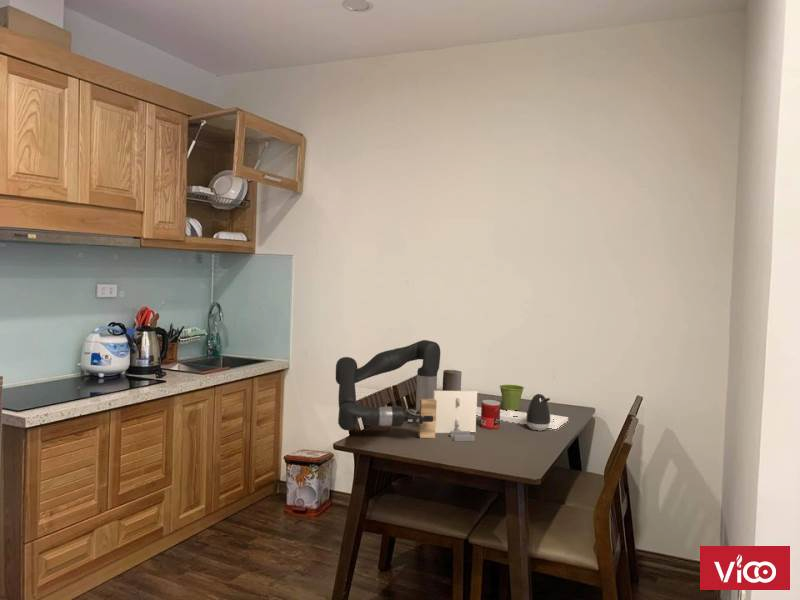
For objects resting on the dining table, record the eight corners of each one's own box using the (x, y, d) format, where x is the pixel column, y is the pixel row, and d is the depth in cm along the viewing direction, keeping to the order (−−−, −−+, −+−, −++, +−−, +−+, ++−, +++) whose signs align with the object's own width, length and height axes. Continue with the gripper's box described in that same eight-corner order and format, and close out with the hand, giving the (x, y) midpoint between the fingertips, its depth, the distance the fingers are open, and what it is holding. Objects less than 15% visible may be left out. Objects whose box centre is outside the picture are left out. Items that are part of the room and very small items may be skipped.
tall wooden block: (418, 436, 244) (419, 398, 244) (433, 436, 245) (434, 398, 245) (420, 438, 241) (421, 400, 240) (435, 438, 242) (436, 400, 241)
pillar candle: (439, 397, 320) (441, 369, 319) (444, 394, 329) (446, 366, 328) (458, 400, 317) (459, 371, 316) (462, 396, 326) (463, 368, 325)
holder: (460, 414, 287) (461, 408, 286) (477, 408, 302) (477, 402, 302) (555, 431, 263) (556, 425, 263) (568, 423, 278) (568, 417, 278)
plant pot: (496, 406, 305) (497, 384, 304) (521, 407, 304) (522, 385, 304) (499, 412, 293) (500, 388, 292) (524, 413, 292) (526, 389, 292)
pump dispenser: (540, 433, 256) (542, 397, 255) (520, 428, 264) (522, 393, 263) (555, 430, 262) (557, 395, 261) (535, 425, 270) (537, 390, 269)
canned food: (497, 430, 258) (498, 404, 258) (478, 428, 261) (480, 402, 260) (500, 426, 266) (502, 401, 265) (482, 424, 268) (483, 399, 268)
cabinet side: (431, 431, 252) (433, 390, 251) (474, 431, 255) (476, 390, 254) (439, 441, 238) (441, 397, 237) (484, 441, 241) (486, 398, 241)
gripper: (393, 410, 233) (435, 410, 236) (387, 402, 247) (427, 402, 250) (392, 430, 233) (434, 430, 236) (386, 421, 247) (426, 421, 250)
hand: (430, 416), depth 243 cm, fingers open, 8 cm apart
